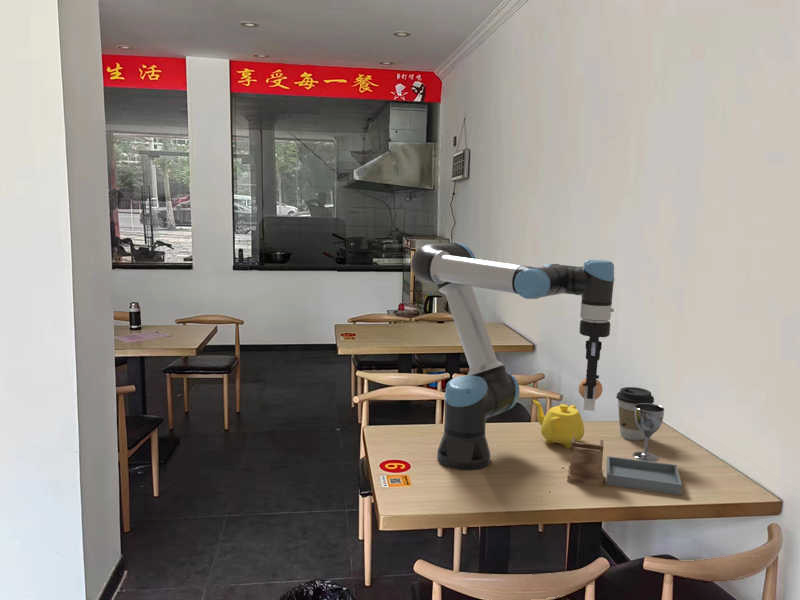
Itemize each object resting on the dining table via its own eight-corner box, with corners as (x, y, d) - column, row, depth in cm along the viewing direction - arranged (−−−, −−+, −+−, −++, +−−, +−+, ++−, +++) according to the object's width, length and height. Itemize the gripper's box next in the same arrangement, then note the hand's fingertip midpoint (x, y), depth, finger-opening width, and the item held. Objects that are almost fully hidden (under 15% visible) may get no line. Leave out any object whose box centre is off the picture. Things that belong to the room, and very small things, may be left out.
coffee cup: (607, 430, 204) (610, 386, 202) (640, 429, 205) (643, 385, 203) (623, 443, 193) (626, 396, 190) (658, 442, 194) (662, 396, 192)
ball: (577, 401, 162) (579, 379, 161) (578, 395, 168) (579, 373, 167) (601, 404, 160) (603, 382, 159) (601, 397, 166) (603, 376, 165)
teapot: (571, 432, 202) (573, 396, 200) (592, 448, 188) (595, 411, 186) (530, 434, 199) (532, 398, 198) (549, 451, 186) (551, 413, 184)
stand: (567, 481, 165) (569, 443, 164) (568, 470, 172) (570, 434, 170) (602, 486, 162) (605, 448, 161) (602, 475, 169) (605, 439, 168)
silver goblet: (662, 463, 178) (666, 412, 176) (633, 460, 180) (637, 410, 178) (657, 452, 186) (661, 404, 184) (629, 450, 188) (632, 402, 185)
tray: (606, 484, 164) (607, 474, 163) (606, 465, 176) (607, 456, 175) (681, 495, 158) (682, 484, 158) (675, 474, 170) (676, 465, 170)
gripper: (611, 327, 151) (604, 419, 154) (610, 315, 169) (604, 397, 172) (579, 325, 153) (572, 415, 157) (581, 313, 171) (575, 394, 174)
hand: (589, 405), depth 164 cm, fingers closed on ball, 6 cm apart
